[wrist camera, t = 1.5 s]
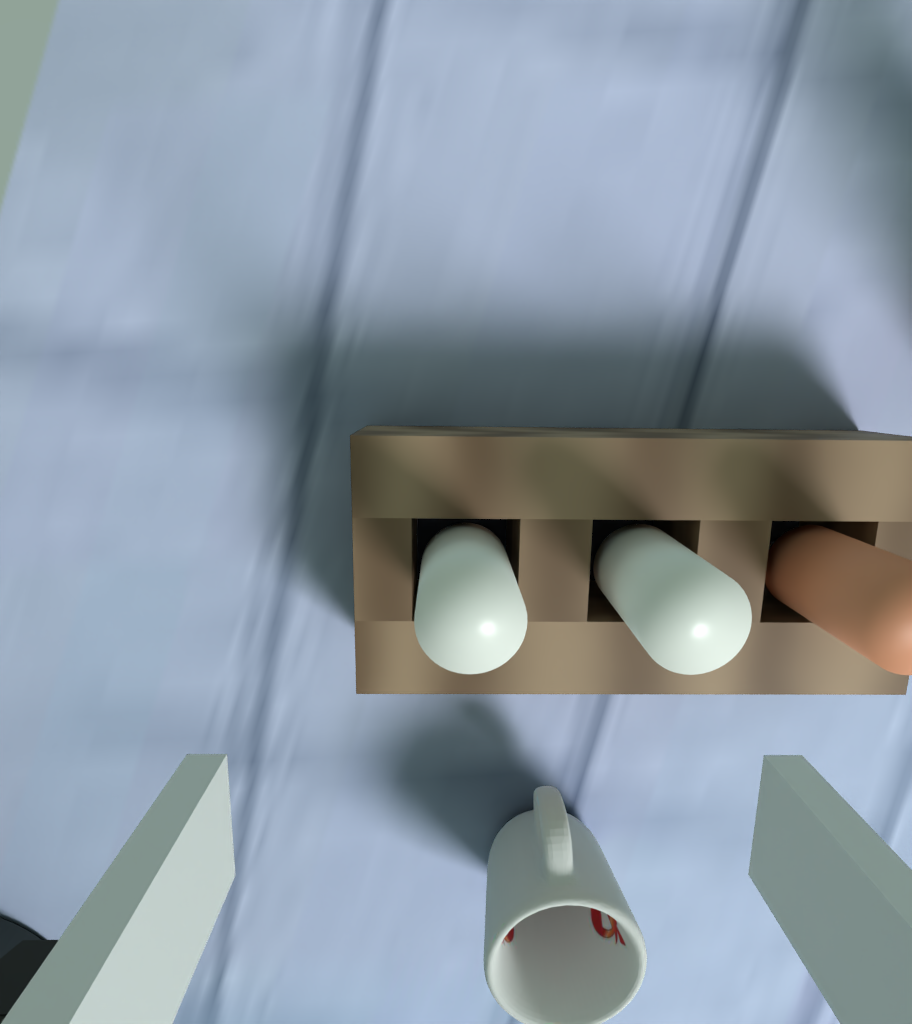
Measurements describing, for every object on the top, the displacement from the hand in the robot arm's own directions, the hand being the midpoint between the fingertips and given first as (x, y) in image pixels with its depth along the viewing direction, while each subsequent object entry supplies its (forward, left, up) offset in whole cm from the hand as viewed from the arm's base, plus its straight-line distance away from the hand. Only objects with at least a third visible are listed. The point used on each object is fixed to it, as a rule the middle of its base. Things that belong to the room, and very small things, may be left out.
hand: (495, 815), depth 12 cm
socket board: (+8, 0, -22) cm, 23 cm away
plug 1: (0, 0, -17) cm, 17 cm away
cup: (+5, -18, -22) cm, 29 cm away
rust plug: (+16, 0, -17) cm, 23 cm away
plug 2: (+8, 0, -17) cm, 19 cm away
